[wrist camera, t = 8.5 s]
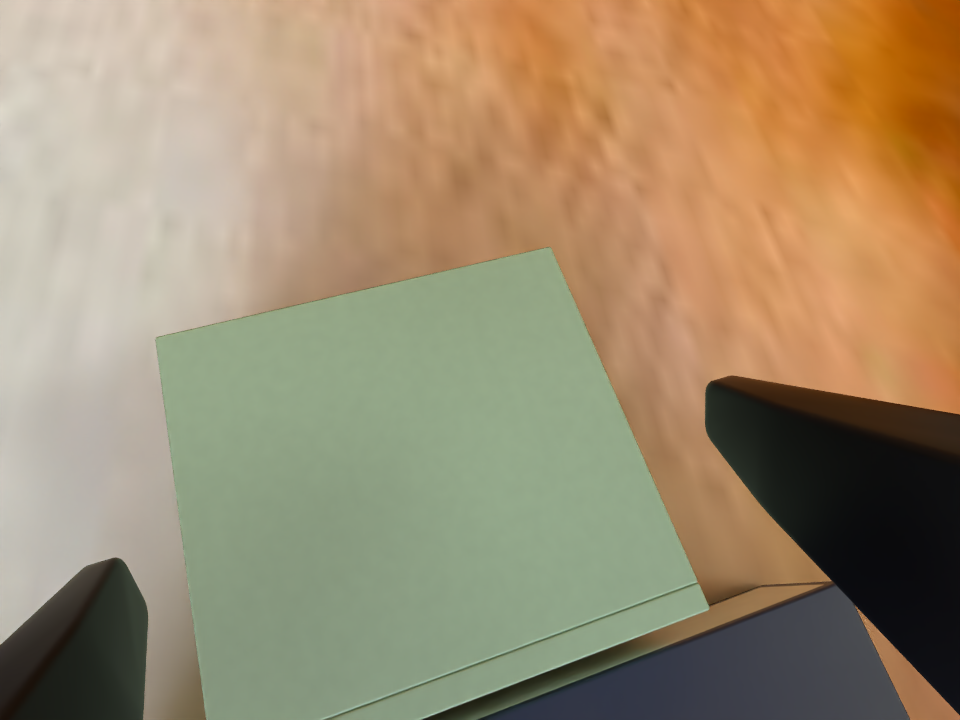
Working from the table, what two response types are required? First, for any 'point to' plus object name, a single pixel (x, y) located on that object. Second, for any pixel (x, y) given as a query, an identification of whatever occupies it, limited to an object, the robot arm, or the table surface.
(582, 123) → the table surface
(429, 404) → the green arch-shaped block
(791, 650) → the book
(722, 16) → the table surface
